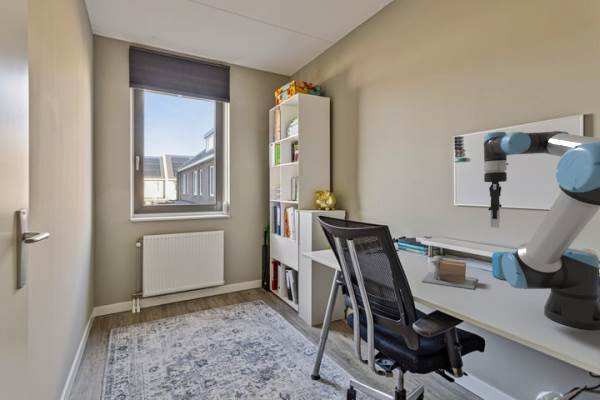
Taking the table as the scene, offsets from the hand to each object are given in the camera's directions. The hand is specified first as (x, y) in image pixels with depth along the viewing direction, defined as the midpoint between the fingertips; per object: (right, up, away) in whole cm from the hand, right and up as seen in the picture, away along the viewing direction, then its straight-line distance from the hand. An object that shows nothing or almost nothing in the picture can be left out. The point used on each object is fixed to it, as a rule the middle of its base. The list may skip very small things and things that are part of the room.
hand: (495, 225), depth 120 cm
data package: (+20, -27, +22) cm, 41 cm away
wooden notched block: (-7, -27, +21) cm, 35 cm away
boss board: (-8, -28, +21) cm, 36 cm away
